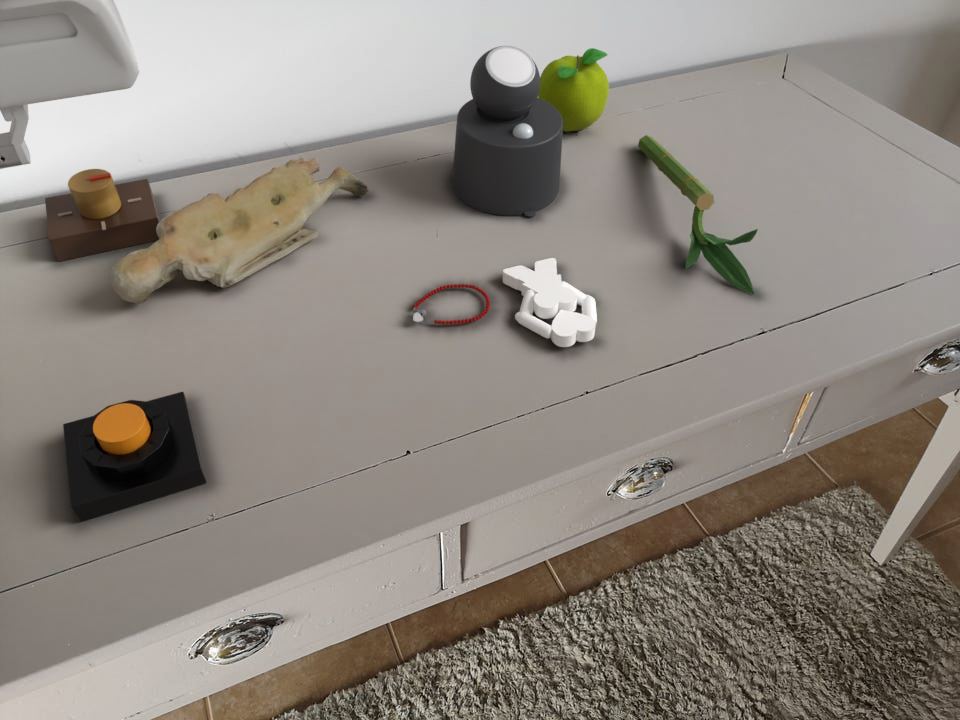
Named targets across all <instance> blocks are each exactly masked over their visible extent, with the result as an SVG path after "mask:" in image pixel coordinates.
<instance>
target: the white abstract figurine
mask: <svg viewBox="0 0 960 720" xmlns="http://www.w3.org/2000/svg"><path fill="white" fill-rule="evenodd" d="M502 284H504V285H506V286H508V287H510V288H512V289H514V290H516V291H519V292H521V296H522V297H523V298H522V301H521V305H520V308H519V311H518V312H515V315H514V320H515V321H516V322H517V323H518V324H520V325H521V326H522V327H525V328H527V329H528V330H530V331H532V332H534V333H536V334H537V335H539V336H541V337H543V338H545V339H551V341H552V343H553V344H554V345H555V346H557V347H559V348H568V347H572V346H574V345H575V344H576V342H579V343H587V342H590V341H592V340H593V339H594V338H595V334H596V327H597V323H598V316H597V303H596V302H597V301H596V299H595V298H594V297H593V296H591V295H589V294H586V293H584V292H582V291H581V290H579V289H578V288H576V287H575V286H573V285H571V284H570V283H568V282H566V280H565V281H564V280H563V279H562V274H561V273H559V274H558V268H557V259H556V258H555V257H549V258H545V259H541V260H537V261H535V263H534V270H532V269H531V268H528V267H527V266H524V265H522V264H520V265H515V266H511V267H507V268H504V269H503V270H502ZM577 306H580V307H581V312H576V310H577ZM533 314H534V315H536V316H537V317H538V318H537V317H536V316H534V315H533ZM542 319H543V320H544V319H545V320H549V319H553V320H552V322H551V324H549V323H547V322H545V321H543V320H542Z"/></svg>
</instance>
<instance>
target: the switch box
mask: <svg viewBox="0 0 960 720" xmlns="http://www.w3.org/2000/svg"><path fill="white" fill-rule="evenodd" d="M123 403H129V404H134V405H137V406H138V407H140V408H141V409H142V410H143V411H144V413H145V416H146V418H147V420H148V422H149V425H150V427H151V433H150V436H149V439H148V440H147V442H146V443H145V444H144V445H143V446H142V447H140V448H139V449H137V450H136V451H134V452H131V453H128V454H123V455H114V454H110V453H108V452H106V451H104V450H103V449H102V447H101V446H100V444H99V442H98V440H97V438H96V436H95V435H94V432H93V424H94V421H95V419H96V418H97V417H98V415H99V414H100V413H101V412H103V411H104V410H106V409H107V408H109V407H111V406H114V405H117V404H123ZM191 413H192V412H191V409H190V405H189V402H188V401H187V397H186V395H185V392H184V391H179V392H176V393H173V394H168V395H165V396H160V397H157V398H154V399H150V400H146V401H145V400H137V399H129V400H125V401H121V402H117V403H113V404H110V405H107V406H105V407H104V408H103V409H102V410H100V411H98V412H97V413H95V414H93V415H92V416H91V415H90V416H88V417H84V418H80V419H77V420H73V421H69V422H66V423H63V424H62V429H63V437H64V438H63V440H64V449H65V460H66V461H65V462H66V470H67V481H68V482H67V483H68V491H69V493H68V494H69V503H70V509H71V511H72V512H73V513H74V515H75V516H76V518H77V519H78V521H79V522H80V523H82V522H86V521H89V520H92V519H96V518H99V517H102V516H105V515H108V514H111V513H115V512H118V511H121V510H124V509H127V508H130V507H134V506H138V505H140V504H143V503H147V502H151V501H154V500H156V499H160V498H163V497H166V496H169V495H172V494H173V495H174V494H176V493H179V492H182V491H186V490H189V489H192V488H196V487H199V486H203V485H206V484H207V477H206V473H205V469H204V465H203V461H202V456H201V452H200V447H199V443H198V440H197V434H196V431H195V426H194V422H193V418H192V417H193V416H192V414H191Z"/></svg>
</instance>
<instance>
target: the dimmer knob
mask: <svg viewBox="0 0 960 720" xmlns="http://www.w3.org/2000/svg"><path fill="white" fill-rule="evenodd" d="M115 185H116V184H115V181H114V179H113V176H112V174H111V172H110V171H108V170H106V169H103V168H89V169H84V170H81V171H79V172H76V173H75V174H72V176H71V177H70V178H69V179H68V181H67V186H68V189H69V191H70V193H71V194H72V196H73V199H74V201H75V203H76V206H77V208H78V211H79V213H80V214H81V215H82V216H83V217H85V218H89V219H101V218H105V217H108V216H111V215H113V214H114V213H116V212H117V211H118V210H119V209H120V207H121V201H120V198H119V195H118V192H117V190H116V187H115Z"/></svg>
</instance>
